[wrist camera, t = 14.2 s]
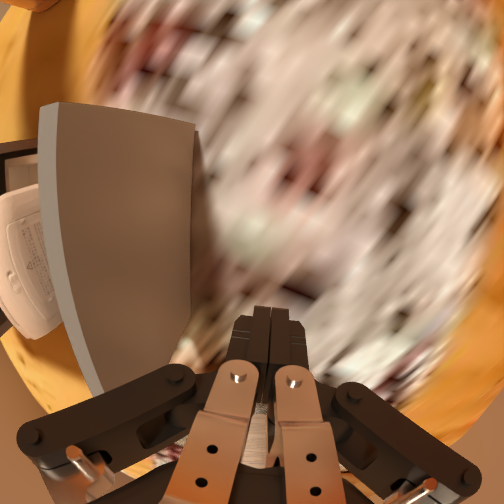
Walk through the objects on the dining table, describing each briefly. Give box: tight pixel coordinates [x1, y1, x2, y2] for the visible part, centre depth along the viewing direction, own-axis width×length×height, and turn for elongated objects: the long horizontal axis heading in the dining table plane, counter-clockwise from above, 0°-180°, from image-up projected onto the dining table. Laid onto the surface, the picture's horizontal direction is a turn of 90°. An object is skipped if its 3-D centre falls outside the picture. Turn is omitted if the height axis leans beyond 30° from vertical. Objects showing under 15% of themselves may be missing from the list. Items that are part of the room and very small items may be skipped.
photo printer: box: [0, 184, 63, 340], centre depth 17 cm, size 10×4×12 cm, turn 12°
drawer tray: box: [5, 102, 195, 397], centre depth 17 cm, size 18×20×16 cm
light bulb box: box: [242, 414, 267, 469], centre depth 30 cm, size 11×7×11 cm, turn 4°
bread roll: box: [341, 473, 375, 498], centre depth 37 cm, size 10×15×8 cm, turn 80°
